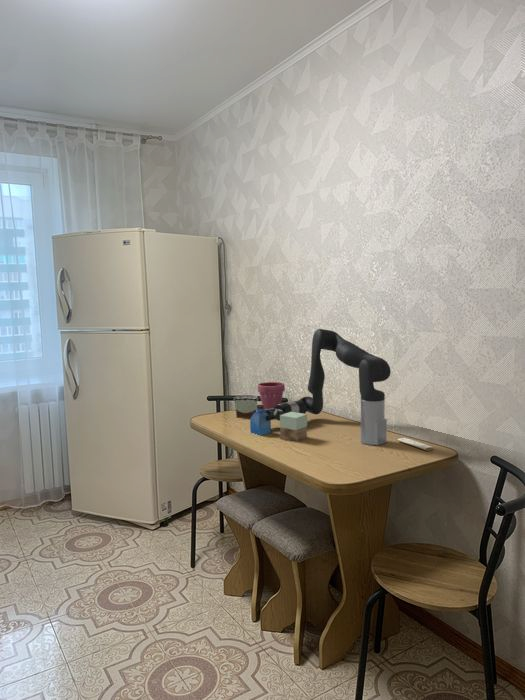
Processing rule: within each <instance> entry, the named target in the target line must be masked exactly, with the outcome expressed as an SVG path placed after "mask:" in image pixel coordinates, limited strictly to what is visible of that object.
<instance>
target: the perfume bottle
mask: <svg viewBox="0 0 525 700" xmlns="http://www.w3.org/2000/svg"><path fill="white" fill-rule="evenodd" d="M263 407H264V405H262V404H257V408H256V413H253V415H252V417H251V418H249V419H250V420H249V422H250V424H249V425H250V426H249V427H250V429H249V430H250V431H249V432H251V433H250V434H253V433H254V434H253V435H256V434H257V435H256V436H259V435H260V436H264V435H268V433H269V434H271V432H272V430H271V429H272V424H271V423H272V422H271V421H272V420H270V421H266V416H267V415H268V414H267V413H264V408H263ZM263 434H264V435H263Z"/></svg>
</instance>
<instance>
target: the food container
mask: <svg viewBox="0 0 525 700" xmlns="http://www.w3.org/2000/svg"><path fill="white" fill-rule="evenodd" d="M259 401H260V400H259V397H258V396H257V395H251V394H241V395H237V396H234V397H233V402H234V407H235V416H236V418H237V417H252V415H253V412H257V411H256V408H257V405H258V402H259Z"/></svg>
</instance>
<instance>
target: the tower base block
mask: <svg viewBox="0 0 525 700" xmlns="http://www.w3.org/2000/svg"><path fill="white" fill-rule="evenodd" d="M307 427H308V425H307V426H306V427H304V428H301V429H298V430H292V429H286V428H281V427H280V428H279V430H280V431H279V435H280V437H279V438H280V440H281V439H283V440H282V441H288V440H289V442H294V441H295V443H299V442H300V441H302V440H304V439H307V437H308V428H307Z"/></svg>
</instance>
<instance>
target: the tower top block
mask: <svg viewBox="0 0 525 700" xmlns="http://www.w3.org/2000/svg"><path fill="white" fill-rule="evenodd" d="M306 426H307V427H308V414H307V413H305V414H303V413H296V412H289V413H286V414H283V415H280V420H279V427H280V428H286V429H292V430H298V429H301V428H304V427H306Z"/></svg>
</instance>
